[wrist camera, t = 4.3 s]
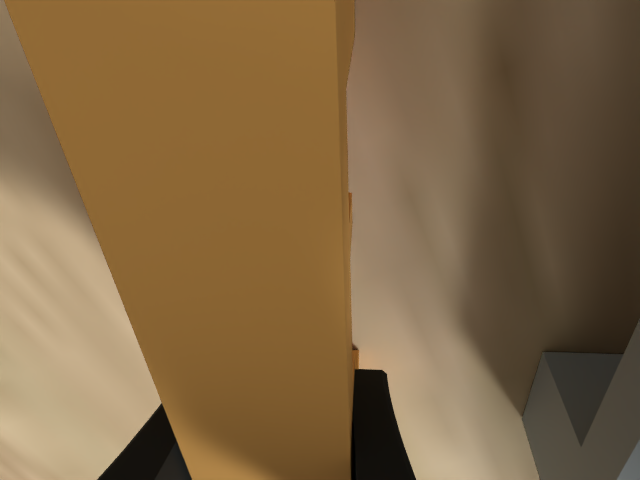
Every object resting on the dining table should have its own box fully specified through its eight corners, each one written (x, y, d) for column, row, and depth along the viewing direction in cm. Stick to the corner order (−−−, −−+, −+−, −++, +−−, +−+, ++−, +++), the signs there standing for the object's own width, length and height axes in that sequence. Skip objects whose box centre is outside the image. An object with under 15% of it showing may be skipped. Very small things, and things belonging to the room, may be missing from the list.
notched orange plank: (176, -73, 8) (-23, -69, 4) (353, -85, 8) (331, -94, 4) (263, 386, 15) (223, 558, 11) (359, 390, 14) (353, 570, 10)
